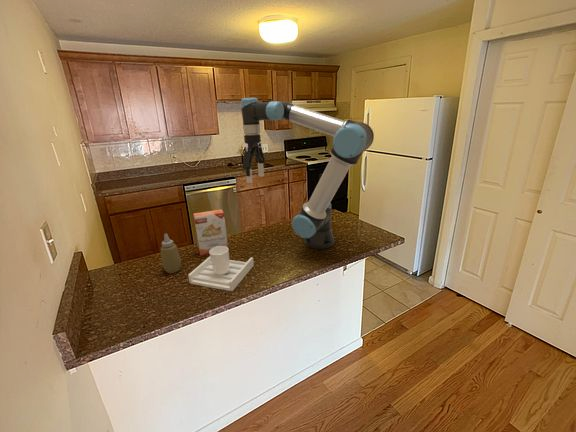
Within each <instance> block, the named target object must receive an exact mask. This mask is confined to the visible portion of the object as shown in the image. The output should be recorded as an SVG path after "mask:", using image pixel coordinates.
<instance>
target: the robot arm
mask: <svg viewBox="0 0 576 432" xmlns="http://www.w3.org/2000/svg"><path fill="white" fill-rule="evenodd" d="M240 105H241V108H240V109H241V110H240V111H241V115H242V116H241V117H242V129H243V134H244V136H243V139H244V144H247V146H244V147H243V149H244V150H243V151H244V153H243V160H242V169H243V170H245V177H246V183H247V184H253V183H254V182H253V171H252V164H253V163H252V162H253V160H254V159H253V158H254V157H255V158H256V161H257V172H258V173H257V175H258V177H265V170H264V164H265V163H266V158H265V154H264V151H263V147H262V143H261V142H262V141H261V134H260V133H261V125H260V121H280V120H285V121H287V122H290V123H294V124H297V125H300V126H301V127H305V128H307V129H311V130H314V131H317V132H320V133H321V134H324V135H329V136H331V137H333V140H332V147H331V149H330V151H329V152H330V156H331V157H330V159H329V161H328V163H327V164H326V167H325V169H324V171H323V173H322V175H321V176H320V178H319V181H318V183H317V184H316V186H315V188H314V189H313V190H314V191H313V192H312V194H311V196H310V197H309V200H308V201H307V202H304V203H303V204H302V207H301V209H299V212H298V214H297V215H295V216H294V217H293V219H292V221H291V227H292V229H293V231H294V233H295V234H296V236H298V237H300V238H303V239H304V243H305V246H307V247H308V248H311V249H314V250H326V249H329V248H331V247H333V246H334V245H335V237H334V234H333V231H332V210H333V209H332V203H331V202H332V200H333V198H335V197H334V196H335V195H336V193H337V192H338V189H339V188H340V186H341V184H342V182H343V181H344V179H345V177H346V175H347V173H348V172H349V170H350V168H351V167H352V166H355V165H357V163H358V162H359V161H360V159H361V157H362V155H363V154H364V152H365V151H366V150H368V149H370V147H371V146H372V144H373V142H374V139H375V138H374V137H375V134H374V131H373V128H372V127H371V126H370V125H368V124H367V123H365V122H361V121H356V120H353V119H349V118H348V119H346V120H343V119H340V118H337V117H335V116H334V117H333V116H331V115H328V114H324V113H321V112H318V111H315V110H312V109H308V108H306V107H302V106H299V105H295V104H294V103H293V102H290V101H275V100H272V101H261V102H260V101H259V99H258V98H257V97H243V98H241V100H240Z"/></svg>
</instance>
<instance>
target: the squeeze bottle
mask: <svg viewBox="0 0 576 432" xmlns="http://www.w3.org/2000/svg"><path fill="white" fill-rule="evenodd" d="M160 256H161V257H160V258H161V267H162V268H163V269H164V270H165V272H166V273H168V274H175V273H177V272H179V271H180V270H181V264H182V258H181V255H180V253H179V250H178V246H177V244H175V243H174V240H173V239H170V237H169V235H168V233H164V234H163V240H162V242H161V247H160Z"/></svg>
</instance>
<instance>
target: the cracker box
mask: <svg viewBox="0 0 576 432" xmlns="http://www.w3.org/2000/svg"><path fill="white" fill-rule="evenodd" d="M193 219H194V227H195V231H196V239H197V244H198V251H199V255H200V256H205V255H210V253H209V251H210V250H211V249H212V248H214V247H217V246H226V247H228V248H229V246H228V245H229V243H228V239H227V238H228V237H227V236H228V235H227V229H226V228H227V227H226V221H225V220H226V219H225V213H224V211H223V208H220V209H215V210H207V211H201V212H195V213H193Z"/></svg>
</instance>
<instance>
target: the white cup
mask: <svg viewBox="0 0 576 432" xmlns="http://www.w3.org/2000/svg"><path fill="white" fill-rule="evenodd" d="M209 253H210V254H209V257H210V258H211V263H212V267H213V271H214V273H215V274H217V275H223V274H226V273H228V272H229V270H230V266H229V265H230V262H229V260H230V249H229V246H228V247H226V246H217V247H214V248H212V249H211V250H210V251H209Z"/></svg>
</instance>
